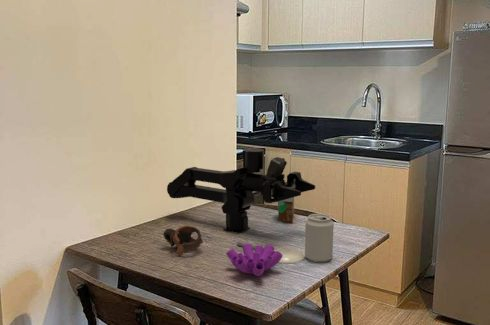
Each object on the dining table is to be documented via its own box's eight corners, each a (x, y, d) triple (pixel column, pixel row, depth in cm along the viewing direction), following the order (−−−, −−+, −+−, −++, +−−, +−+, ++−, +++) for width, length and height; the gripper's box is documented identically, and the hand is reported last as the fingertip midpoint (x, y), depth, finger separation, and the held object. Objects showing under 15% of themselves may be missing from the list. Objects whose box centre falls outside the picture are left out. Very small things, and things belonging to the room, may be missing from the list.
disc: (260, 258, 135) (260, 257, 135) (279, 248, 143) (279, 246, 143) (293, 266, 130) (293, 264, 130) (310, 255, 138) (310, 253, 138)
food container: (276, 214, 178) (277, 187, 176) (293, 214, 177) (294, 187, 175) (273, 224, 166) (274, 195, 164) (292, 225, 165) (292, 196, 163)
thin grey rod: (236, 245, 145) (236, 242, 145) (238, 244, 146) (238, 241, 146) (269, 253, 139) (269, 250, 139) (271, 252, 140) (271, 249, 139)
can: (331, 264, 131) (333, 221, 129) (303, 262, 132) (304, 219, 130) (332, 254, 138) (334, 213, 136) (305, 252, 140) (306, 211, 138)
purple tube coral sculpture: (230, 291, 122) (213, 256, 125) (268, 273, 134) (251, 241, 136) (259, 275, 115) (240, 238, 118) (296, 257, 127) (278, 224, 129)
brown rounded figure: (206, 246, 146) (208, 227, 141) (194, 270, 139) (196, 251, 134) (168, 234, 148) (169, 214, 143) (154, 257, 141) (155, 237, 135)
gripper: (245, 162, 143) (293, 168, 134) (278, 153, 158) (322, 158, 149) (245, 199, 145) (292, 207, 136) (277, 187, 160) (321, 194, 151)
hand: (308, 190), depth 143 cm, fingers open, 9 cm apart
